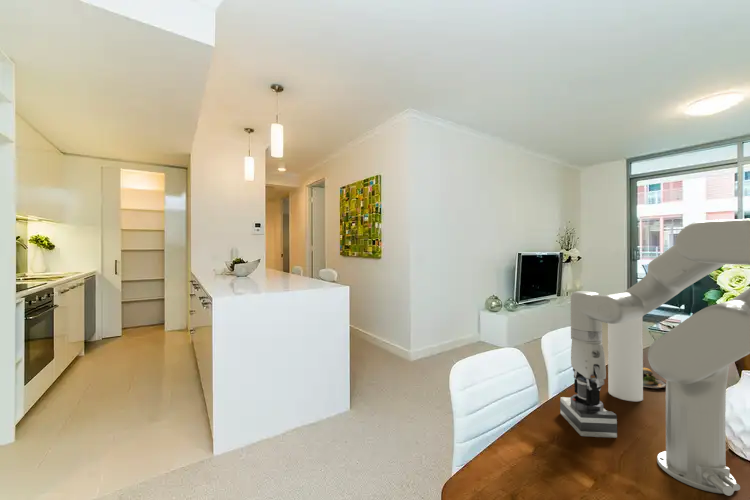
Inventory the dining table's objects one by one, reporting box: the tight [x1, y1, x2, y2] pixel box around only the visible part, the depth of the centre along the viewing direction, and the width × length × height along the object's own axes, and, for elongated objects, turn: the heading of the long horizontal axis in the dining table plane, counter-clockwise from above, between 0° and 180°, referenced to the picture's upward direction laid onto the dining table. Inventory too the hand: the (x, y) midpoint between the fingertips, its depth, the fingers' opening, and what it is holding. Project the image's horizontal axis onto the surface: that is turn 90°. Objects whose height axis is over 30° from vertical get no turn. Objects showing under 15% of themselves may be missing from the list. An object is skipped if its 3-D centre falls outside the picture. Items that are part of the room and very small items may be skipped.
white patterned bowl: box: [643, 365, 666, 390], centre depth 120 cm, size 12×12×8 cm
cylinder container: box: [607, 316, 644, 402], centre depth 111 cm, size 9×9×30 cm
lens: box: [576, 376, 596, 405], centre depth 93 cm, size 5×5×8 cm
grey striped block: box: [559, 393, 618, 439], centre depth 93 cm, size 12×9×7 cm
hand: (586, 397), depth 93 cm, fingers open, 5 cm apart
